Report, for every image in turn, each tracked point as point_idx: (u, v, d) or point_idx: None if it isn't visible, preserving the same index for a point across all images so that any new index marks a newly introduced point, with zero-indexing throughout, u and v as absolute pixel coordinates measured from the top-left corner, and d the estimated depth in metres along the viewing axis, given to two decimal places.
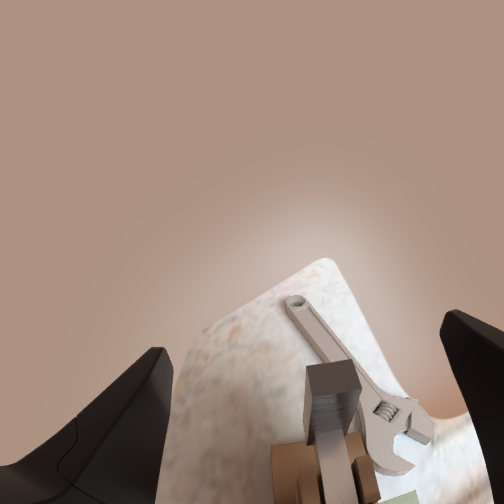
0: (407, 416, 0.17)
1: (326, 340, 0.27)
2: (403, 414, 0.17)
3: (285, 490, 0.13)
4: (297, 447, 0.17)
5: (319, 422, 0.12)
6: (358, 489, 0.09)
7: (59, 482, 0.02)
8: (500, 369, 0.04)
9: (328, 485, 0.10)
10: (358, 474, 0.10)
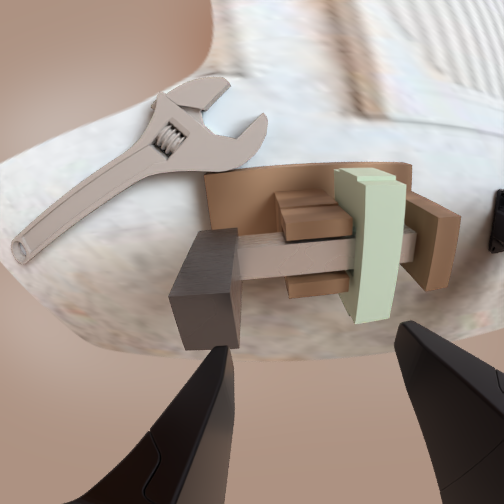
0: (182, 111, 0.15)
1: (62, 214, 0.18)
2: (178, 116, 0.15)
3: None
4: None
5: (239, 294, 0.12)
6: None
7: None
8: (452, 392, 0.04)
9: (315, 268, 0.13)
10: None
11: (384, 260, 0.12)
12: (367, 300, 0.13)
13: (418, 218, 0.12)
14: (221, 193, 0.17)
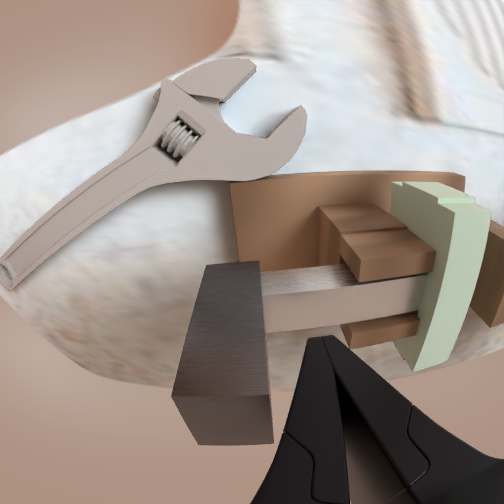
0: (195, 101, 0.11)
1: (47, 234, 0.14)
2: (189, 109, 0.11)
3: None
4: None
5: None
6: None
7: None
8: (354, 424, 0.05)
9: (361, 315, 0.09)
10: None
11: (457, 301, 0.08)
12: (431, 346, 0.09)
13: (488, 245, 0.09)
14: (252, 207, 0.13)
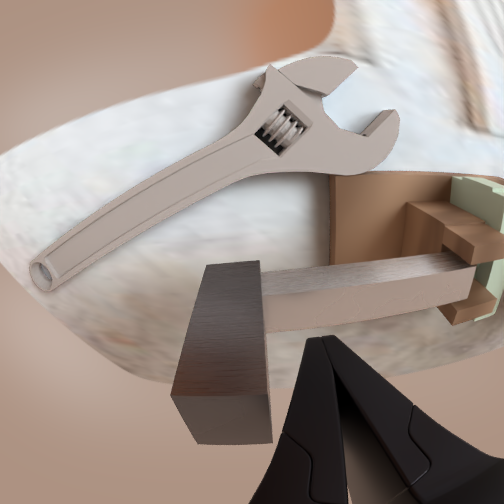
0: (302, 93, 0.11)
1: (108, 227, 0.14)
2: (297, 100, 0.11)
3: None
4: None
5: (267, 359, 0.08)
6: None
7: None
8: (355, 424, 0.05)
9: (361, 316, 0.09)
10: None
11: None
12: None
13: None
14: (353, 199, 0.13)
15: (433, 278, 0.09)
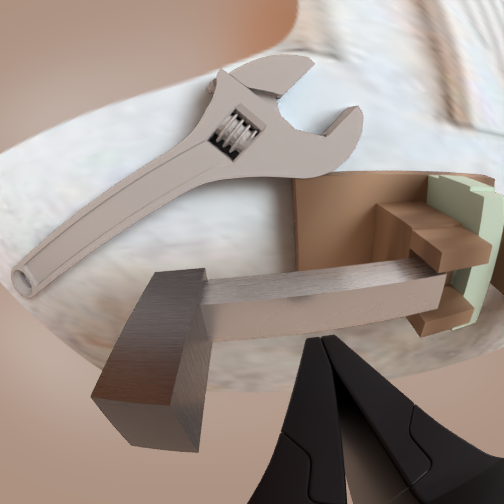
0: (254, 95, 0.11)
1: (77, 236, 0.14)
2: (249, 103, 0.11)
3: None
4: None
5: (203, 368, 0.08)
6: None
7: None
8: (356, 423, 0.05)
9: (310, 327, 0.09)
10: None
11: (485, 267, 0.10)
12: None
13: None
14: (315, 202, 0.13)
15: (393, 288, 0.09)
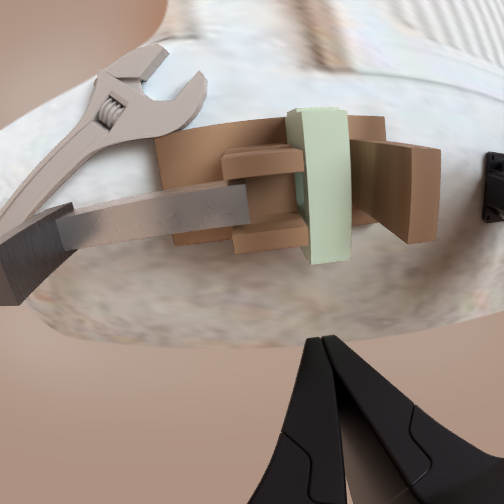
0: (121, 82, 0.13)
1: (21, 203, 0.16)
2: (117, 88, 0.13)
3: None
4: None
5: (48, 261, 0.10)
6: None
7: None
8: (356, 423, 0.05)
9: (122, 236, 0.11)
10: None
11: (333, 189, 0.12)
12: (321, 235, 0.12)
13: (390, 158, 0.11)
14: (172, 154, 0.15)
15: (182, 198, 0.11)
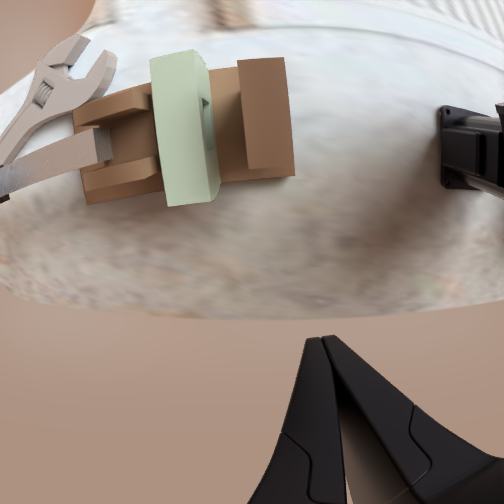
0: (51, 69, 0.12)
1: None
2: (48, 74, 0.12)
3: (135, 182, 0.16)
4: None
5: None
6: (119, 115, 0.10)
7: None
8: (356, 423, 0.05)
9: (20, 184, 0.10)
10: (96, 119, 0.09)
11: (181, 125, 0.11)
12: (173, 174, 0.12)
13: None
14: None
15: (53, 147, 0.10)
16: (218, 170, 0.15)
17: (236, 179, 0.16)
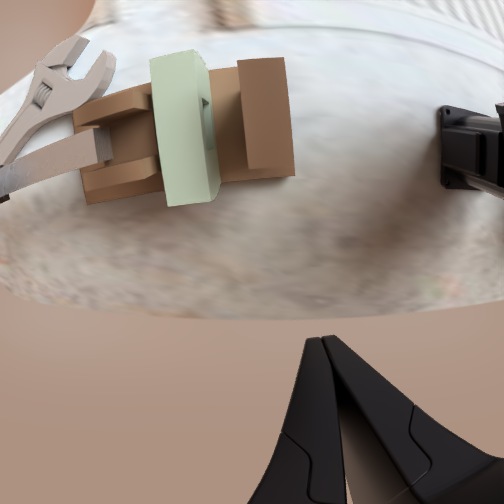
0: (50, 70, 0.12)
1: None
2: (47, 75, 0.12)
3: (135, 182, 0.16)
4: None
5: None
6: (119, 115, 0.10)
7: None
8: (356, 423, 0.05)
9: (20, 184, 0.10)
10: (96, 119, 0.09)
11: (181, 125, 0.11)
12: (173, 174, 0.12)
13: None
14: None
15: (53, 147, 0.10)
16: (218, 170, 0.15)
17: (236, 179, 0.16)
